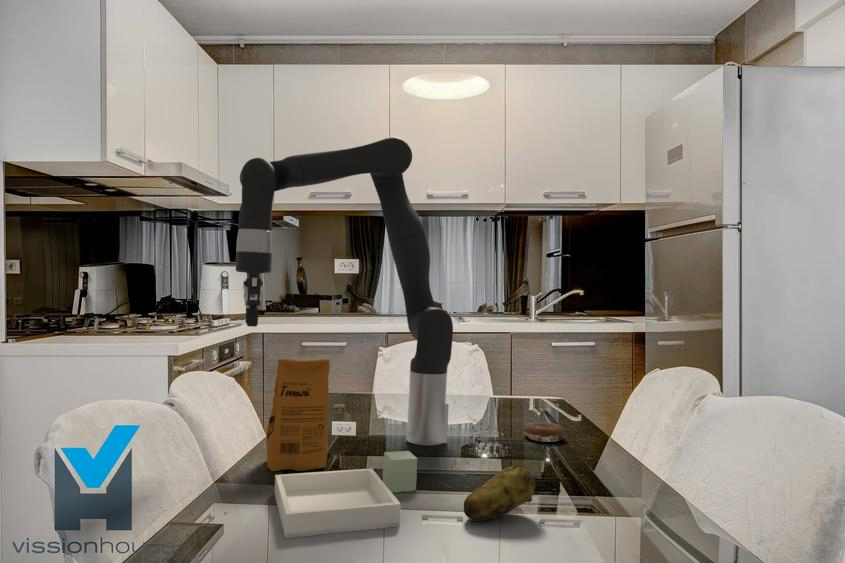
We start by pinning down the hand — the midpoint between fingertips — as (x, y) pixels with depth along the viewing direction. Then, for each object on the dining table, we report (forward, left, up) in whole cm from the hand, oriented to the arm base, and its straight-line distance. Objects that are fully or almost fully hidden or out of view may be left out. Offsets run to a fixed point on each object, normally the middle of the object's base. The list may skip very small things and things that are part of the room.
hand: (251, 324), depth 122 cm
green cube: (-27, +27, -28) cm, 47 cm away
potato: (-39, +44, -28) cm, 65 cm away
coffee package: (-10, +10, -28) cm, 31 cm away
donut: (-75, +1, -28) cm, 80 cm away
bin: (-13, +35, -28) cm, 47 cm away
